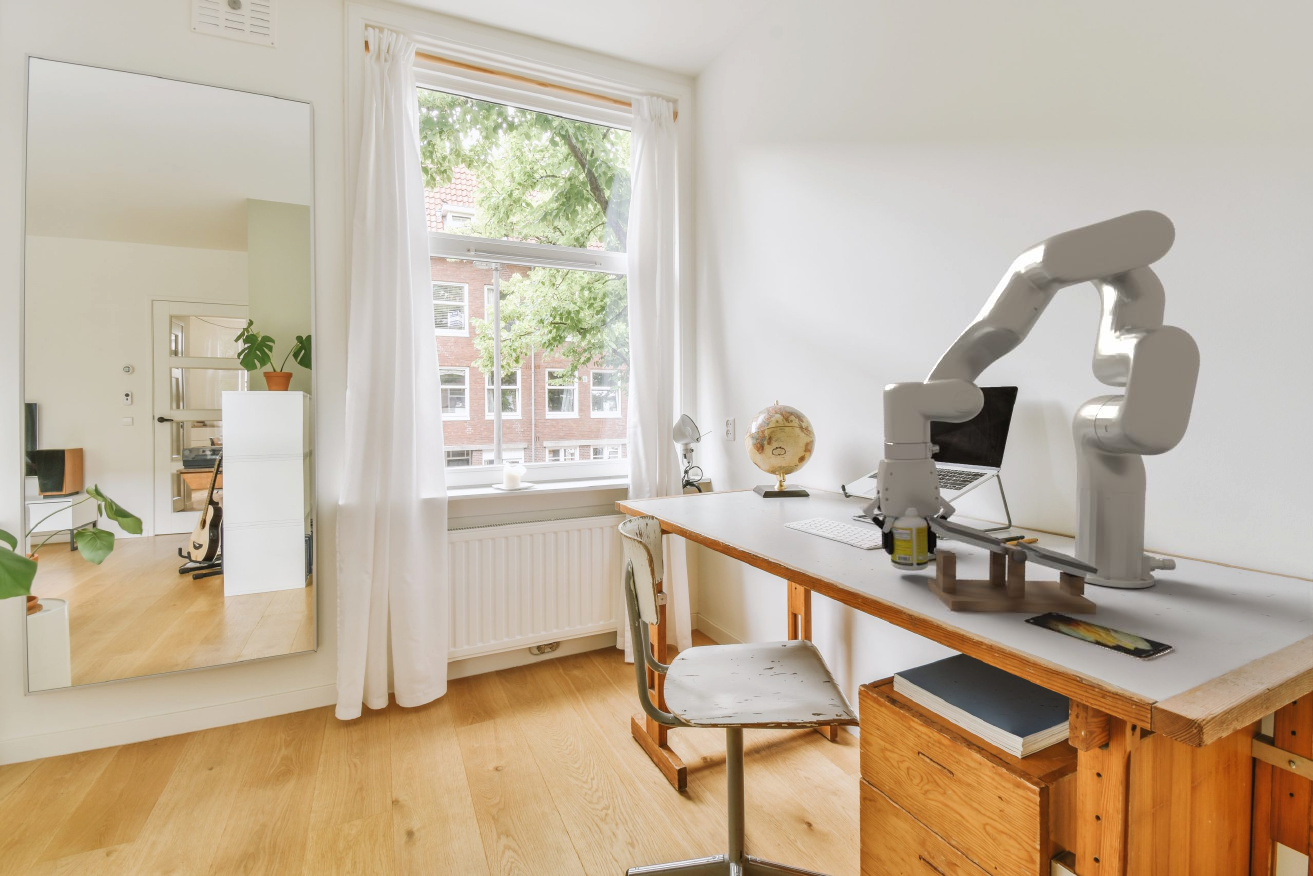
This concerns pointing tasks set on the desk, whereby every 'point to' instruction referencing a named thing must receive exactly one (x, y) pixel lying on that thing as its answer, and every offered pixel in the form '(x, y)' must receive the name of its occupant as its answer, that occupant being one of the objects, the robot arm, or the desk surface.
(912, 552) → the pill bottle
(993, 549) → the beam
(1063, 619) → the smartphone
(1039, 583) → the stand
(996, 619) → the desk surface
